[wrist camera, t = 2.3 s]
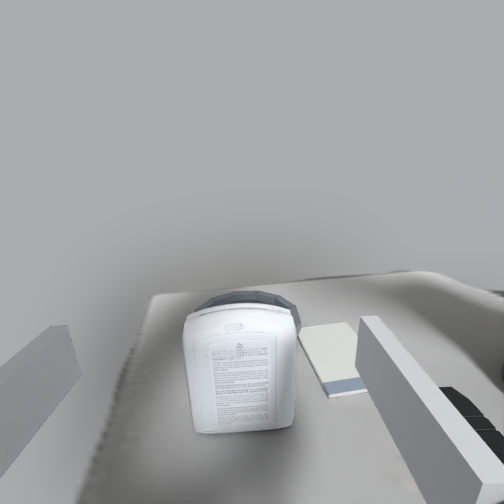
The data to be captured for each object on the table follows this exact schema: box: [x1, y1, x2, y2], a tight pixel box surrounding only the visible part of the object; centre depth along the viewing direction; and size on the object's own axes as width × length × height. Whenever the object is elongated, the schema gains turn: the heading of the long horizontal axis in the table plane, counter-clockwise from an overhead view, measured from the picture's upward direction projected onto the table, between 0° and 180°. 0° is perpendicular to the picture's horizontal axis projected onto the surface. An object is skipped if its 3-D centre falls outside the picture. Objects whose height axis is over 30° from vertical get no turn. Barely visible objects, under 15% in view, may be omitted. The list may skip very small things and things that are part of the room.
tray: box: [194, 291, 301, 338], centre depth 41 cm, size 16×16×2 cm
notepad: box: [298, 322, 368, 398], centre depth 34 cm, size 8×12×1 cm, turn 9°
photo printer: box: [182, 303, 297, 434], centre depth 25 cm, size 10×4×12 cm, turn 93°
